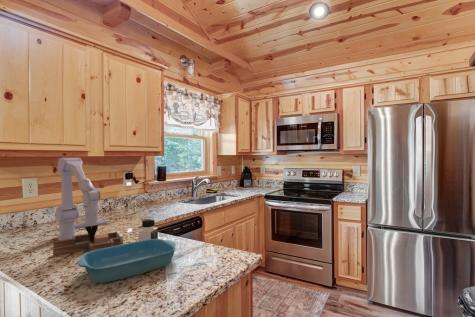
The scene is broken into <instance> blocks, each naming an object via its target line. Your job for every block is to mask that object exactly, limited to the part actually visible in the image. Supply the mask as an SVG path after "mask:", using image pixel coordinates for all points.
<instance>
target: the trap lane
mask: <svg viewBox="0 0 475 317" xmlns="http://www.w3.org/2000/svg"><path fill="white" fill-rule="evenodd" d="M107 234H108V242H106V243H100V244H93V243H94V240H93V242H90V238H89V235H88V233H84V234H76V236H72V239H66V240H60V241H59V240H55V241H53V242H52V243H53V246H52V247H53V249H52V256H60V255H66V254H71V253H76V252H77V253H78V252H82V251H87V250H88V252H90V251H93V250H98V249H102V248H107V247H112V246H117V245H122V244H123V243H124V235H123V234H122V233H121V232H120V231H119V230H116V231H115V232H114V231H113V232H107ZM95 235H97V234H96V233H95Z"/></svg>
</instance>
